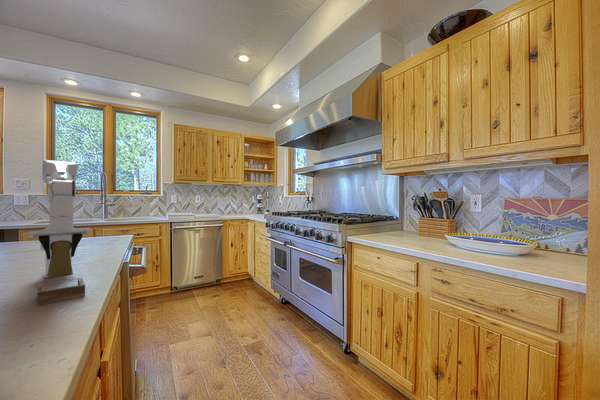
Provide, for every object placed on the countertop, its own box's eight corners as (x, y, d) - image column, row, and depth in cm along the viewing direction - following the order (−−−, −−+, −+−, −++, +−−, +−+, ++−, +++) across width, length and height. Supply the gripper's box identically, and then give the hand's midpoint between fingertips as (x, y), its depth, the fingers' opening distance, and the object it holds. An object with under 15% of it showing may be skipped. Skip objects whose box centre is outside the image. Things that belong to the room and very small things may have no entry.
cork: (55, 277, 78) (57, 242, 79) (42, 275, 80) (43, 241, 80) (77, 272, 84) (78, 239, 84) (64, 271, 86) (65, 239, 86)
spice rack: (37, 295, 75) (38, 284, 75) (81, 287, 82) (81, 277, 82) (36, 305, 68) (37, 293, 68) (84, 296, 75) (85, 285, 75)
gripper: (28, 218, 74) (27, 263, 74) (91, 216, 84) (90, 256, 85) (29, 216, 79) (28, 259, 79) (89, 215, 89) (88, 252, 90)
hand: (60, 257), depth 82 cm, fingers closed on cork, 5 cm apart
